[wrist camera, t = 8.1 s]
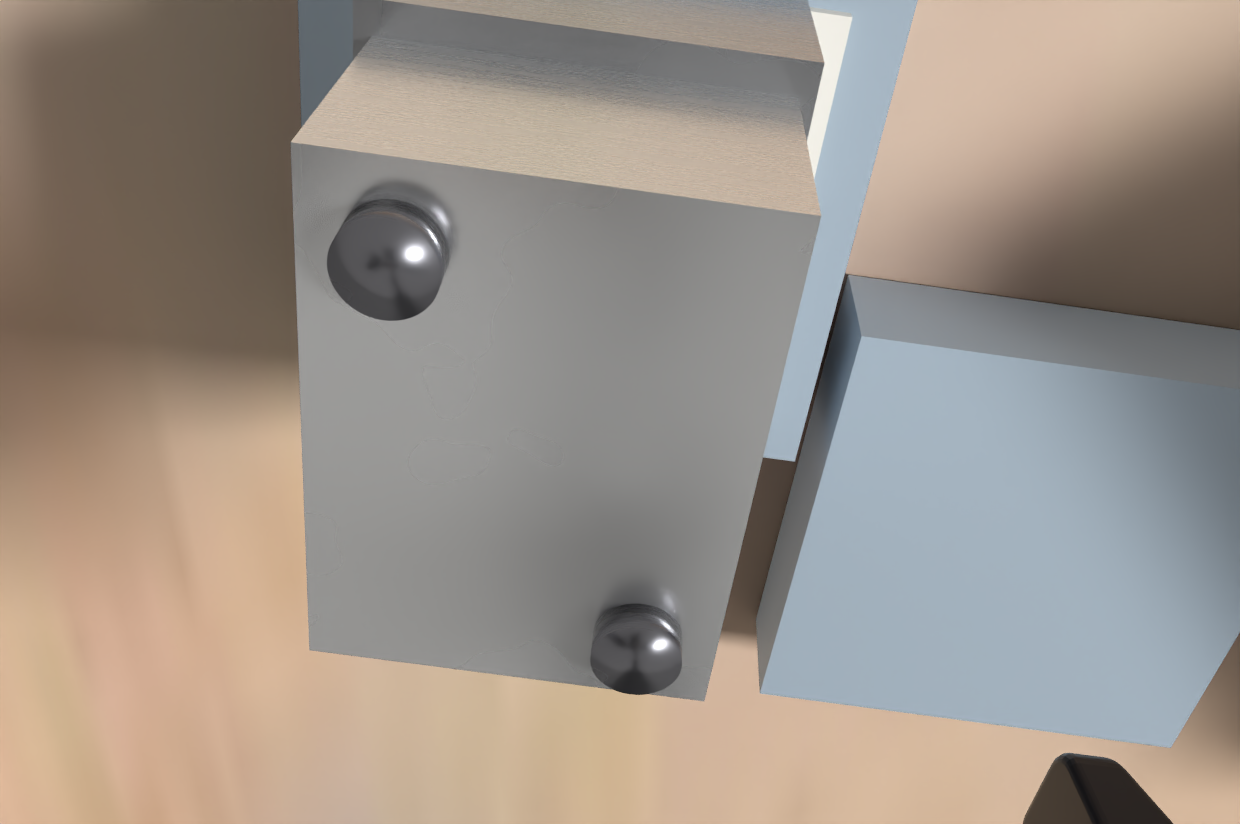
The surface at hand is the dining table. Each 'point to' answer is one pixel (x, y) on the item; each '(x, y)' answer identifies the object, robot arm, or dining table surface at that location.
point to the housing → (547, 327)
